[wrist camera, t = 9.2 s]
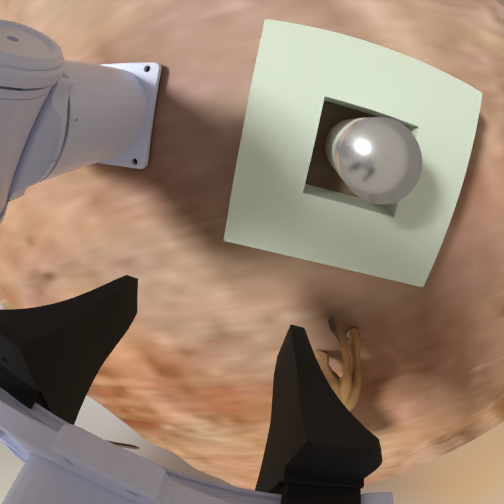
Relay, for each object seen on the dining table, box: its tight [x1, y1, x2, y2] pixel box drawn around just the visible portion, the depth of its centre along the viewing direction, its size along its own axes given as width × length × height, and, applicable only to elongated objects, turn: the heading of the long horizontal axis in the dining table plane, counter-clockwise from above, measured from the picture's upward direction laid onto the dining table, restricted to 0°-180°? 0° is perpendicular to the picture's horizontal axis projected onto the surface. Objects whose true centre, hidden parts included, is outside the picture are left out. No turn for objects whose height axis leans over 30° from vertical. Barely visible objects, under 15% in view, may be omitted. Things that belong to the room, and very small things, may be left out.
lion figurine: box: [314, 316, 362, 412], centre depth 22 cm, size 15×5×9 cm, turn 13°
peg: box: [325, 117, 422, 205], centre depth 15 cm, size 4×4×7 cm
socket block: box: [223, 19, 482, 288], centre depth 17 cm, size 14×14×3 cm
